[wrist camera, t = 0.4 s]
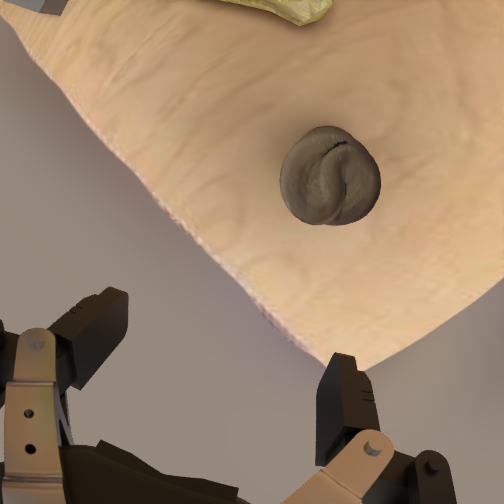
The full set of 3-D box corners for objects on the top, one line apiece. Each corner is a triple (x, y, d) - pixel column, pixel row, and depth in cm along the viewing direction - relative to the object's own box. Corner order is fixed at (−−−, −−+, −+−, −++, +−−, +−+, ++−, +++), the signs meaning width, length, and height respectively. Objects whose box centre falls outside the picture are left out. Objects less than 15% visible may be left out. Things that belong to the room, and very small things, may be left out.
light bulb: (299, 179, 30) (285, 245, 17) (289, 124, 28) (267, 143, 15) (356, 173, 29) (389, 234, 16) (348, 117, 26) (382, 130, 13)
